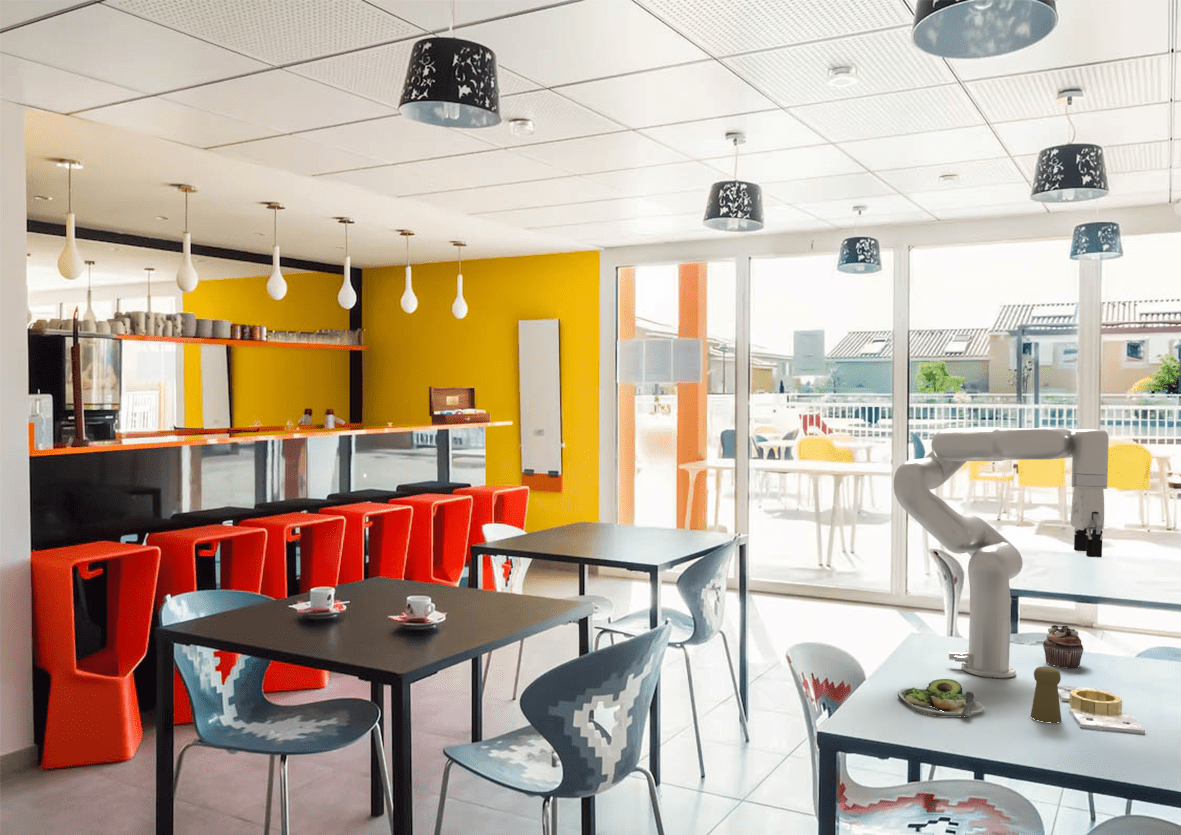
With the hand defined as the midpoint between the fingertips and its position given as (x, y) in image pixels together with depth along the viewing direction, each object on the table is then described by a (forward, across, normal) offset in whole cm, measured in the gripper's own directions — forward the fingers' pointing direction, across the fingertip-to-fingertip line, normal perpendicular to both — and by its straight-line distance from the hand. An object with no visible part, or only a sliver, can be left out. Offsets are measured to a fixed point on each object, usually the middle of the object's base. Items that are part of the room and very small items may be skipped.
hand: (1087, 553), depth 229 cm
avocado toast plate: (+33, +21, -35) cm, 53 cm away
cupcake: (+33, -24, +2) cm, 41 cm away
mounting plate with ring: (+32, +15, -2) cm, 36 cm away
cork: (+33, +26, -15) cm, 44 cm away
